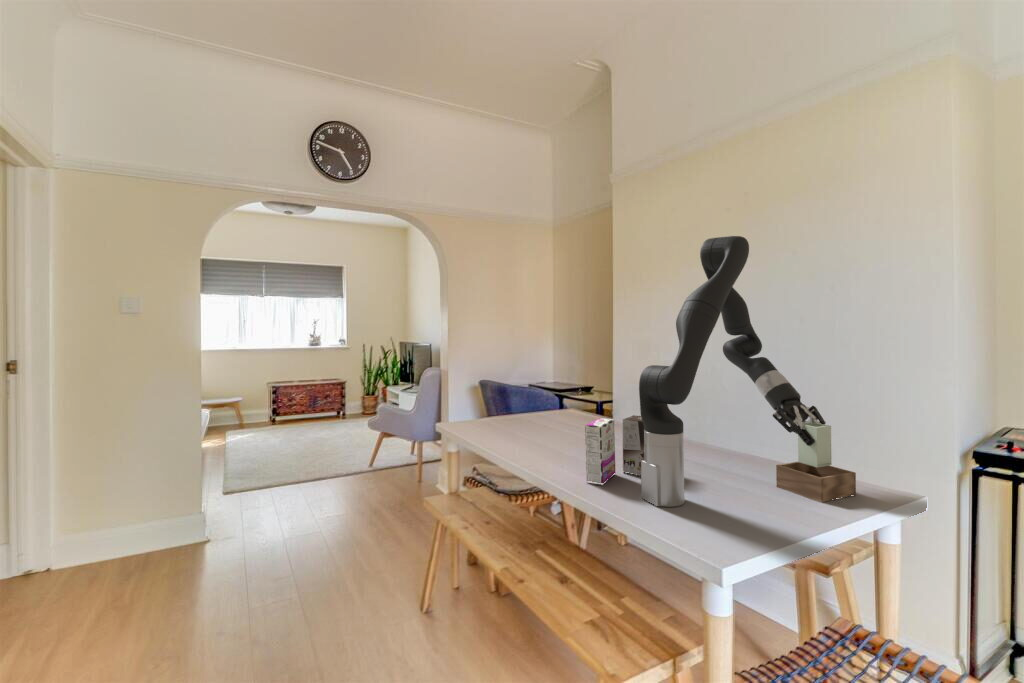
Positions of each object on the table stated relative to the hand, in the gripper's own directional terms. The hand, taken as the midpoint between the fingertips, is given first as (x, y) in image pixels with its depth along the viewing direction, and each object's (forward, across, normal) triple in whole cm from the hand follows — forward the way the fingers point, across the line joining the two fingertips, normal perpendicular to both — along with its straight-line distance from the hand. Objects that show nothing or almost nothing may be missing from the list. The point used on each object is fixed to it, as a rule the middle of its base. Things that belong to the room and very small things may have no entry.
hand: (819, 442), depth 111 cm
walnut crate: (+8, 0, +10) cm, 13 cm away
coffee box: (-14, -32, +32) cm, 47 cm away
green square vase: (+3, 0, +5) cm, 6 cm away
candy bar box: (-12, -46, +30) cm, 56 cm away
